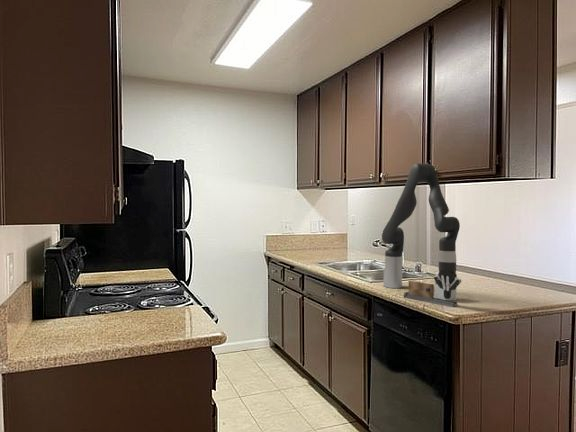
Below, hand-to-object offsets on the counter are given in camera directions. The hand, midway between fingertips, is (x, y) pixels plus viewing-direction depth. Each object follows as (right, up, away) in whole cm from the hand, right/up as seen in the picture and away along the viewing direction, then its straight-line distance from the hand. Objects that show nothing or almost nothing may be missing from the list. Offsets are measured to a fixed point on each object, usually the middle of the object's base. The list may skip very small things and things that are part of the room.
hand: (447, 298), depth 195 cm
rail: (-6, -3, +7) cm, 10 cm away
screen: (-9, -1, +11) cm, 14 cm away
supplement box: (+4, -3, +13) cm, 14 cm away
